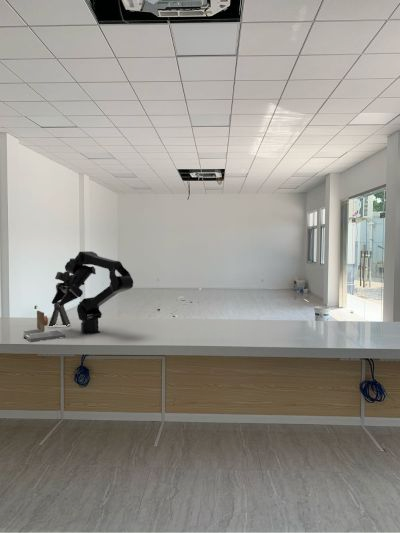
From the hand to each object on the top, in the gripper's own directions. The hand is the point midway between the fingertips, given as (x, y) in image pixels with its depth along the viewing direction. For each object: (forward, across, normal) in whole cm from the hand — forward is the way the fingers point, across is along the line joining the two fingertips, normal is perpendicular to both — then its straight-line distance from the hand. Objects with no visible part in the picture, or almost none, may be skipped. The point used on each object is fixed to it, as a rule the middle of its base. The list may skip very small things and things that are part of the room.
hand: (55, 304), depth 170 cm
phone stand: (+4, -21, +15) cm, 26 cm away
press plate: (+11, 0, +3) cm, 11 cm away
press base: (+13, 0, +6) cm, 14 cm away
